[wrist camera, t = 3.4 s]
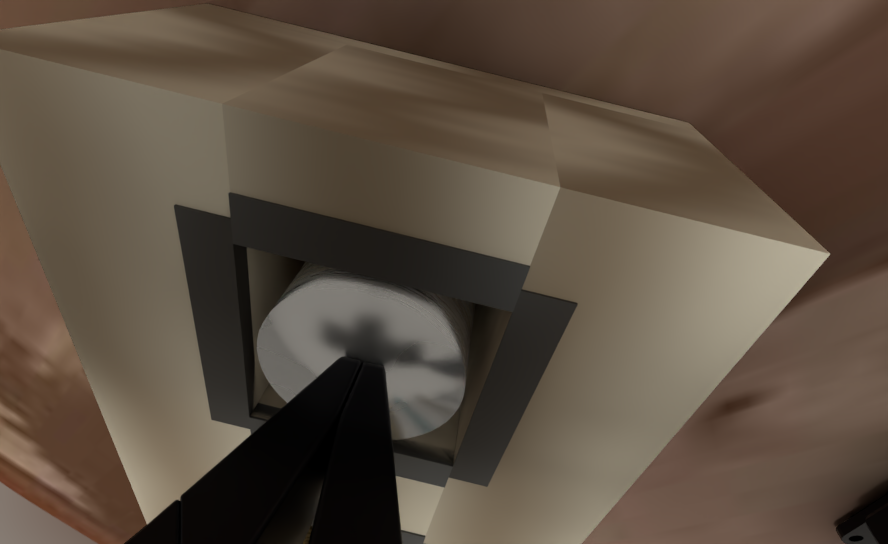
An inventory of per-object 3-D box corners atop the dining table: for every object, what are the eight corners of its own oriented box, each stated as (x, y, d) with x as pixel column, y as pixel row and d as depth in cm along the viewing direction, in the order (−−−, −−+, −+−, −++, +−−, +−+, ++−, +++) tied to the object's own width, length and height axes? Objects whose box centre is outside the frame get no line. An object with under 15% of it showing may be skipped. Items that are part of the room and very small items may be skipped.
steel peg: (499, 194, 11) (489, 322, 7) (464, 310, 14) (442, 457, 10) (346, 156, 11) (251, 264, 7) (337, 279, 14) (261, 413, 10)
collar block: (688, 122, 11) (833, 255, 6) (494, 494, 21) (487, 655, 16) (206, 3, 11) (-56, 36, 6) (249, 435, 21) (167, 578, 16)
